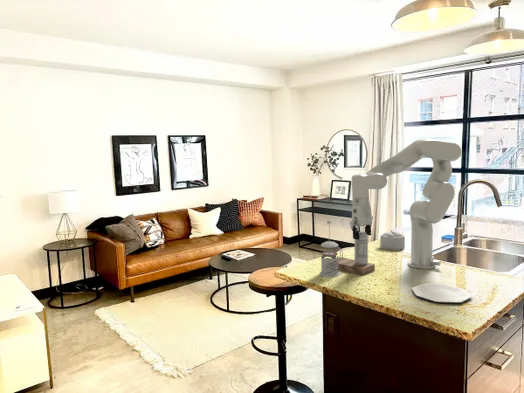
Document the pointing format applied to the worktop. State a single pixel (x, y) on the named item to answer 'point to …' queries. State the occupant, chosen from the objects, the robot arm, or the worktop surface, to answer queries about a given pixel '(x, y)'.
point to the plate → (441, 293)
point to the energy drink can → (361, 249)
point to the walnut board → (354, 266)
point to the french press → (326, 267)
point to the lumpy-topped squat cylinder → (392, 241)
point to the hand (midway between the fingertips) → (362, 237)
